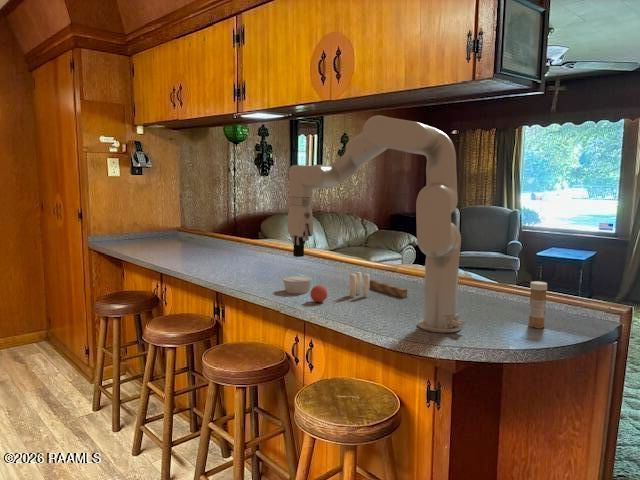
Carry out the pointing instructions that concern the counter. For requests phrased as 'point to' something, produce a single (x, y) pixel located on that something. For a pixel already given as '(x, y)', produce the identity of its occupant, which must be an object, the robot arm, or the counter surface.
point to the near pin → (366, 285)
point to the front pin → (352, 285)
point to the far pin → (358, 283)
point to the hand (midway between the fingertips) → (298, 256)
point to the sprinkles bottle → (537, 304)
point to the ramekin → (297, 284)
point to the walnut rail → (388, 288)
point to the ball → (318, 293)
